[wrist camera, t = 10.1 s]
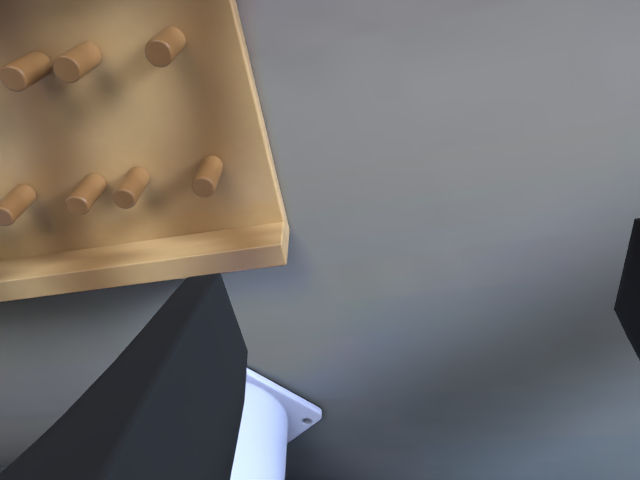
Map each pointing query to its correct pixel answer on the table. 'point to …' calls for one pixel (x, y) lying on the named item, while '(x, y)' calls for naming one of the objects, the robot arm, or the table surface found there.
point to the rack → (130, 147)
